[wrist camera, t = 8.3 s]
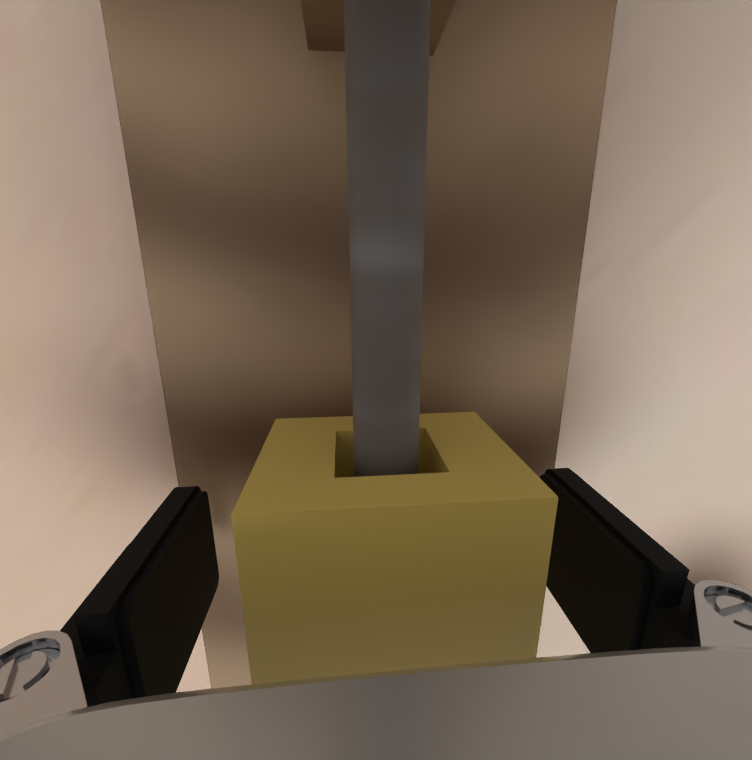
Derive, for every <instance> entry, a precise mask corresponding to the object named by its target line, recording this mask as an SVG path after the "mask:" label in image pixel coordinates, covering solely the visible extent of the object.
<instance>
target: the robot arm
mask: <svg viewBox="0 0 752 760" xmlns="http://www.w3.org/2000/svg"><path fill="white" fill-rule="evenodd" d="M540 479H541V480H542V481H543V482H544V483H545V484H546V485H547V486H548V487H549V488H550V489H551V490H552V491H553V492H554V493H555V494H556V495H557V496H558V504H557V511H556V519H555V526H554V533H553V540H552V547H551V554H550V561H549V569H548V576H547V583H546V586H547V587H548V589H549V590H550V592H551V593H552V595H553V597H554V598H555V600H556V601H557V603H558V604H559V606H560V607H561V609H562V610H563V612H564V613H565V615H566V616H567V618H568V619H569V621H570V622H571V624H572V625H573V627H574V628H575V630H576V631H577V633H578V634H579V636H580V637H581V639H582V640H583V642H584V643H585V645H586V646H587V648H588V649H589V651H590V653H588V654H577V655H565V656H553V657H541V658H529V659H518V660H506V661H494V662H483V663H472V664H461V665H450V666H439V667H428V668H417V669H406V670H396V671H385V672H374V673H363V674H353V675H343V676H332V677H322V678H312V679H302V680H292V681H282V682H271V683H261V684H251V685H241V686H231V687H222V688H213V689H204V690H195V691H186V692H177V693H176V690H177V688H178V685H179V683H180V680H181V678H182V675H183V673H184V670H185V668H186V665H187V663H188V660H189V658H190V655H191V653H192V650H193V648H194V645H195V643H196V640H197V638H198V635H199V633H200V630H201V628H202V625H203V623H204V620H205V618H206V615H207V613H208V610H209V608H210V605H211V603H212V600H213V598H214V595H215V593H216V590H217V587H218V583H219V570H218V563H217V556H216V548H215V541H214V534H213V527H212V520H211V512H210V505H209V498H208V494H207V492H206V491H201V489H200V487H198V486H191V487H176V488H174V489H173V490H172V492H171V493H170V494H169V495H168V497H167V498H166V499H165V500H164V502H163V503H162V504H161V505H160V507H159V508H158V509H157V511H156V512H155V513H154V514H153V516H152V517H151V518H150V519H149V521H148V522H147V523H146V524H145V526H144V527H143V528H142V529H141V531H140V532H139V533H138V535H137V536H136V537H135V538H134V540H133V541H132V542H131V543H130V544H129V545H128V546H127V547H126V549H125V550H124V551H123V552H122V554H121V555H120V556H119V557H118V559H117V560H116V561H115V562H114V564H113V565H112V566H111V567H110V569H109V570H108V571H107V572H106V574H105V575H104V576H103V577H102V579H101V580H100V581H99V583H98V584H97V585H96V586H95V588H94V589H93V590H92V591H91V593H90V594H89V595H88V596H87V598H86V599H85V600H84V601H83V603H82V604H81V605H80V606H79V608H78V609H77V610H76V611H75V613H74V614H73V615H72V616H71V618H70V619H69V620H68V621H67V623H66V624H65V625H64V627H63V628H62V629H61V630H60V631H43V632H39V633H35V634H31V635H28V636H26V637H24V638H21V639H19V640H16V641H14V642H12V643H11V644H9V645H7V646H5V647H4V648H2V649H0V760H752V592H751V591H750V590H747V589H745V588H742V587H740V586H737V585H735V584H731V583H727V582H724V581H718V580H704V581H700V582H699V583H697V584H696V585H694V584H693V583H692V582H690V581H689V580H688V579H687V577H688V573H689V569H688V568H687V567H685V566H684V565H683V564H682V563H681V562H679V561H678V560H677V559H676V558H675V557H674V556H672V555H671V554H670V553H669V552H668V551H666V550H665V549H664V548H663V547H662V546H661V545H659V544H658V543H657V542H656V541H655V540H653V539H652V538H651V537H650V536H649V535H648V534H646V533H645V532H644V531H643V530H642V529H640V528H639V527H638V526H637V525H636V524H635V523H633V522H632V521H631V520H630V519H629V518H627V517H626V516H625V515H624V514H623V513H621V512H620V511H619V510H618V509H617V508H616V507H614V506H613V505H612V504H611V503H610V502H608V501H607V500H606V499H605V498H604V497H603V496H601V495H600V494H599V493H598V492H597V491H595V490H594V489H593V488H592V487H591V486H590V485H588V484H587V483H586V482H585V481H584V480H582V479H581V478H580V477H579V476H578V475H577V474H575V473H574V472H573V471H572V470H570V469H569V468H558V469H547V470H546V472H545V474H542V475H541V476H540Z"/></svg>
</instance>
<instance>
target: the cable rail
mask: <svg viewBox="0 0 752 760" xmlns="http://www.w3.org/2000/svg"><path fill="white" fill-rule="evenodd" d="M100 1H101V7H102V13H103V20H104V26H105V32H106V38H107V44H108V51H109V57H110V63H111V69H112V75H113V82H114V88H115V94H116V100H117V106H118V113H119V119H120V125H121V131H122V137H123V144H124V150H125V156H126V162H127V168H128V175H129V181H130V187H131V193H132V199H133V206H134V212H135V218H136V224H137V230H138V237H139V243H140V249H141V255H142V261H143V268H144V274H145V280H146V286H147V292H148V299H149V305H150V311H151V317H152V323H153V330H154V336H155V342H156V348H157V354H158V361H159V367H160V373H161V379H162V385H163V392H164V398H165V404H166V410H167V416H168V423H169V429H170V435H171V441H172V447H173V453H174V460H175V466H176V472H177V478H178V484H179V487H191V486H198V487H200V489H201V491H206V492H207V494H208V498H209V505H210V512H211V520H212V527H213V534H214V541H215V548H216V556H217V563H218V570H219V583H218V587H217V590H216V593H215V595H214V598H213V600H212V603H211V605H210V608H209V610H208V613H207V615H206V618H205V620H204V623H203V625H202V633H203V639H204V646H205V652H206V658H207V664H208V670H209V677H210V683H211V689H213V688H222V687H231V686H241V685H251V684H252V683H251V675H250V667H249V659H248V651H247V643H246V634H245V626H244V618H243V610H242V602H241V594H240V586H239V577H238V569H237V561H236V553H235V545H234V537H233V529H232V521H231V514H232V512H233V510H234V508H235V505H236V503H237V501H238V499H239V497H240V495H241V492H242V490H243V488H244V486H245V484H246V482H247V480H248V477H249V475H250V473H251V471H252V469H253V467H254V465H255V462H256V460H257V458H258V456H259V454H260V452H261V449H262V447H263V445H264V443H265V441H266V439H267V437H268V434H269V432H270V430H271V428H272V426H273V424H274V422H275V419H283V418H312V417H340V416H353V435H354V477H362V476H382V475H403V474H418V453H419V416H420V414H424V413H453V412H476V414H477V415H478V416H479V417H480V418H481V419H482V420H483V421H484V422H485V423H486V424H487V425H488V426H489V427H490V428H491V429H492V430H493V431H494V432H495V433H496V434H497V435H498V436H499V437H500V438H501V439H502V440H503V441H504V442H505V443H506V444H507V445H508V446H509V447H510V448H511V449H512V450H513V451H514V452H515V453H516V454H517V455H518V456H519V457H520V458H521V459H522V460H523V461H524V462H525V463H526V465H527V466H528V467H529V468H530V469H531V470H532V471H533V472H534V473H535V474H536V475H537V476H538V477H539V478H540V476H541V475H542V474H545V472H546V470H547V469H554V468H555V460H556V453H557V445H558V438H559V430H560V423H561V416H562V408H563V401H564V393H565V386H566V378H567V371H568V363H569V356H570V348H571V341H572V333H573V326H574V318H575V311H576V303H577V296H578V288H579V281H580V273H581V266H582V258H583V251H584V243H585V236H586V228H587V221H588V213H589V206H590V198H591V191H592V183H593V176H594V169H595V161H596V154H597V146H598V139H599V131H600V124H601V116H602V109H603V101H604V94H605V86H606V79H607V71H608V64H609V56H610V49H611V41H612V34H613V26H614V19H615V11H616V4H617V0H100Z"/></svg>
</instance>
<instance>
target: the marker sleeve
mask: <svg viewBox="0 0 752 760" xmlns="http://www.w3.org/2000/svg"><path fill="white" fill-rule="evenodd" d="M557 504H558V496H557V495H556V494H555V493H554V492H553V491H552V490H551V489H550V488H549V487H548V486H547V485H546V484H545V483H544V482H543V481H542V480H541V479H540V478H539V477H538V476H537V475H536V474H535V473H534V472H533V471H532V470H531V469H530V468H529V467H528V466H527V465H526V463H525V462H524V461H523V460H522V459H521V458H520V457H519V456H518V455H517V454H516V453H515V452H514V451H513V450H512V449H511V448H510V447H509V446H508V445H507V444H506V443H505V442H504V441H503V440H502V439H501V438H500V437H499V436H498V435H497V434H496V433H495V432H494V431H493V430H492V429H491V428H490V427H489V426H488V425H487V424H486V423H485V422H484V421H483V420H482V419H481V418H480V417H479V416H478V415H477V414H476V412H453V413H424V414H420V416H419V453H418V474H403V475H382V476H362V477H354V435H353V416H340V417H312V418H283V419H275V422H274V424H273V426H272V428H271V430H270V432H269V434H268V437H267V439H266V441H265V443H264V445H263V447H262V449H261V452H260V454H259V456H258V458H257V460H256V462H255V465H254V467H253V469H252V471H251V473H250V475H249V477H248V480H247V482H246V484H245V486H244V488H243V490H242V492H241V495H240V497H239V499H238V501H237V503H236V505H235V508H234V510H233V512H232V514H231V521H232V529H233V537H234V545H235V553H236V561H237V569H238V577H239V586H240V594H241V602H242V610H243V618H244V626H245V634H246V643H247V651H248V659H249V667H250V675H251V683H252V684H261V683H271V682H282V681H292V680H302V679H312V678H322V677H332V676H343V675H353V674H363V673H374V672H385V671H396V670H406V669H417V668H428V667H439V666H450V665H461V664H472V663H483V662H494V661H506V660H518V659H529V658H536V654H537V647H538V640H539V633H540V626H541V619H542V612H543V604H544V597H545V590H546V583H547V576H548V569H549V561H550V554H551V547H552V540H553V533H554V526H555V519H556V511H557Z"/></svg>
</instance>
